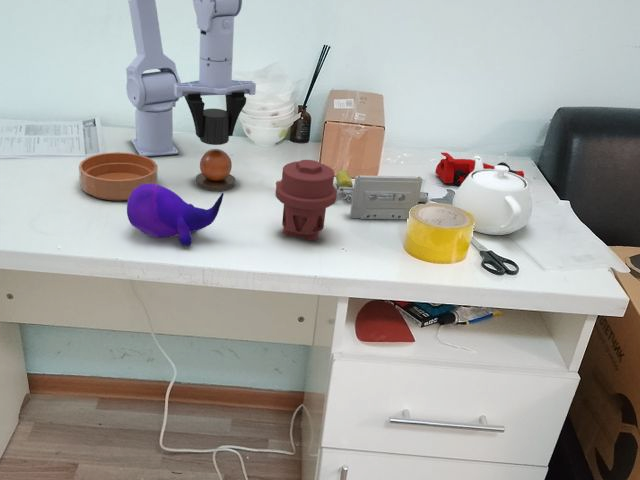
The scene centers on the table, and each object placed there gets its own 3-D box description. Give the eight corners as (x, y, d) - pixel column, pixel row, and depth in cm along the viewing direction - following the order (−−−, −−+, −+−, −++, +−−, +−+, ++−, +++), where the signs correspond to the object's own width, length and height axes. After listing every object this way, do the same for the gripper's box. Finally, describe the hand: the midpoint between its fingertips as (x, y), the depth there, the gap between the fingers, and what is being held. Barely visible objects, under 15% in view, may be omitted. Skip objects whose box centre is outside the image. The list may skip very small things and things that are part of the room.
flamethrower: (273, 177, 140) (276, 201, 132) (274, 165, 139) (277, 187, 131) (419, 187, 143) (430, 210, 135) (422, 174, 141) (434, 197, 133)
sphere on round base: (190, 177, 139) (191, 144, 136) (228, 174, 142) (229, 141, 138) (201, 192, 134) (202, 158, 130) (240, 189, 136) (242, 155, 132)
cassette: (350, 219, 128) (356, 178, 124) (348, 214, 129) (354, 174, 125) (416, 220, 129) (424, 179, 125) (413, 215, 131) (421, 175, 127)
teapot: (546, 250, 122) (566, 191, 116) (469, 249, 121) (484, 189, 115) (499, 198, 140) (514, 144, 134) (431, 197, 139) (443, 142, 133)
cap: (196, 136, 134) (197, 109, 131) (223, 134, 135) (224, 107, 132) (204, 145, 130) (205, 118, 127) (231, 144, 131) (233, 116, 129)
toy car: (526, 186, 147) (533, 162, 144) (444, 186, 144) (450, 162, 141) (513, 174, 151) (520, 151, 148) (434, 174, 148) (439, 151, 146)
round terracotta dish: (75, 175, 137) (73, 154, 134) (148, 170, 141) (147, 150, 139) (87, 205, 126) (85, 183, 124) (165, 198, 130) (165, 177, 128)
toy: (219, 235, 122) (133, 216, 122) (228, 182, 116) (137, 163, 116) (210, 259, 115) (119, 239, 115) (219, 204, 109) (122, 183, 109)
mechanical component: (300, 216, 128) (343, 236, 122) (260, 231, 122) (303, 253, 116) (307, 148, 121) (353, 166, 115) (265, 160, 115) (311, 180, 109)
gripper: (181, 64, 119) (181, 144, 127) (263, 62, 123) (258, 140, 131) (170, 53, 124) (171, 131, 132) (249, 52, 129) (246, 127, 137)
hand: (214, 135), depth 132 cm, fingers closed on cap, 5 cm apart
